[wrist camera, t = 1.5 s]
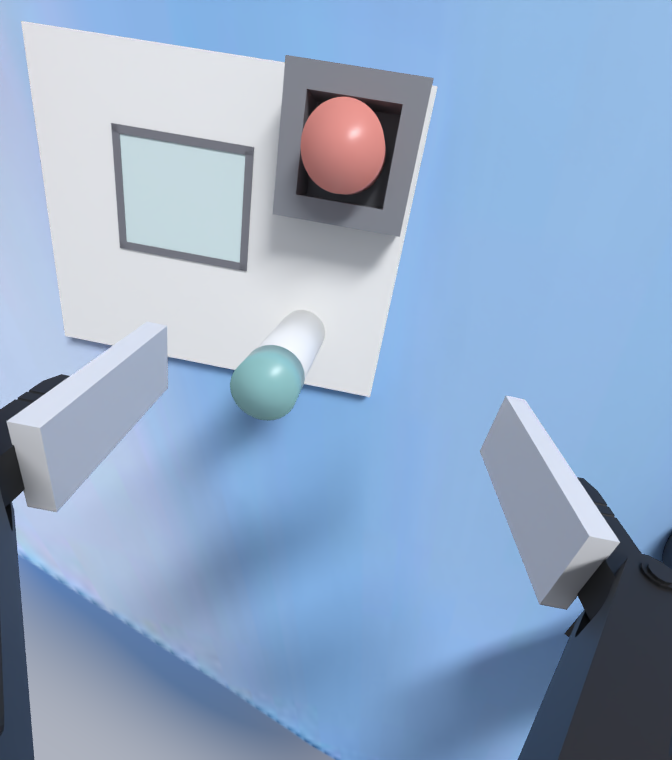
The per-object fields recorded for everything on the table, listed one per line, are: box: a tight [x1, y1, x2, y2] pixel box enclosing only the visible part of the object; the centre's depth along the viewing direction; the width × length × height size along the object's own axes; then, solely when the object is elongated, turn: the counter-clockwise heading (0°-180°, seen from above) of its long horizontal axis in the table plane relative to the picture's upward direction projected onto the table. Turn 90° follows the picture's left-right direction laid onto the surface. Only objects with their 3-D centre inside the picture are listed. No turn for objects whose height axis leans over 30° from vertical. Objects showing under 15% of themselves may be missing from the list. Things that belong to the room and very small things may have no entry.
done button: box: [301, 97, 386, 195], centre depth 26 cm, size 5×5×4 cm
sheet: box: [21, 21, 437, 397], centre depth 33 cm, size 24×30×1 cm
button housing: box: [273, 55, 433, 237], centre depth 28 cm, size 9×9×4 cm
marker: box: [230, 310, 325, 420], centre depth 30 cm, size 4×4×12 cm
